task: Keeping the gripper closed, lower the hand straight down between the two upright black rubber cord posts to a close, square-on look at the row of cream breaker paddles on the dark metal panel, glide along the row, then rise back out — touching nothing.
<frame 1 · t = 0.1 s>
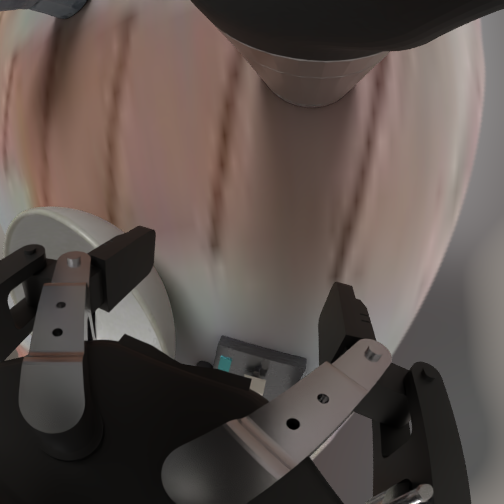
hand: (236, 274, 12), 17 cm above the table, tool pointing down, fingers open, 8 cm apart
panel: (251, 381, 39), on the table
decorative bowl: (121, 274, 36), on the table
paddles: (246, 402, 36), point 4 cm above the table, hinge at 0.0°
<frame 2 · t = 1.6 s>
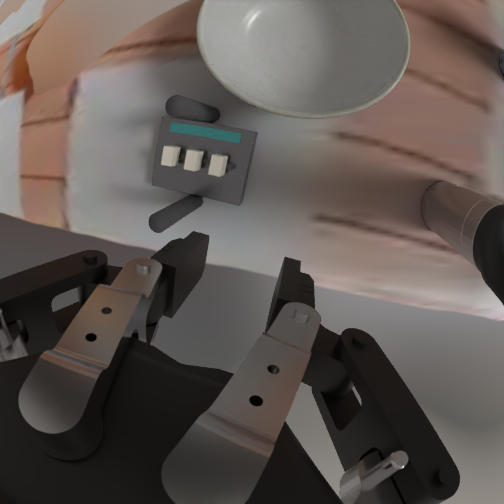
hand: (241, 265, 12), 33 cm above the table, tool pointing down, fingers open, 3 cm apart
panel: (203, 158, 44), on the table
decorative bowl: (304, 49, 34), on the table
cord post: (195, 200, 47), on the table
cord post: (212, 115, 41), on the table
paddles: (193, 159, 40), point 4 cm above the table, hinge at 0.0°
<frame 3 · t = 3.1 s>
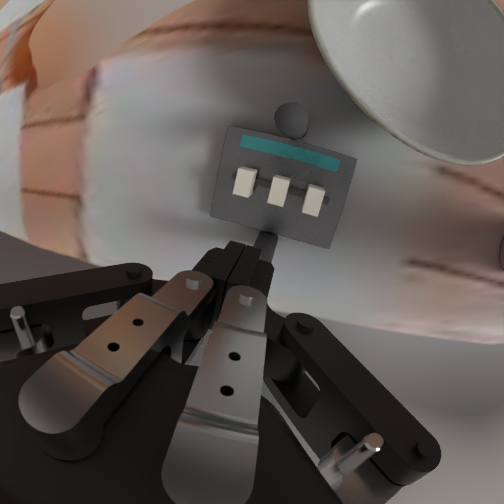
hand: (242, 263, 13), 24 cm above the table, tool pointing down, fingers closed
panel: (282, 184, 35), on the table
decorative bowl: (405, 61, 25), on the table
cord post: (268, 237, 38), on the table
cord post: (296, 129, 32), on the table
paddles: (279, 190, 31), point 4 cm above the table, hinge at 0.0°
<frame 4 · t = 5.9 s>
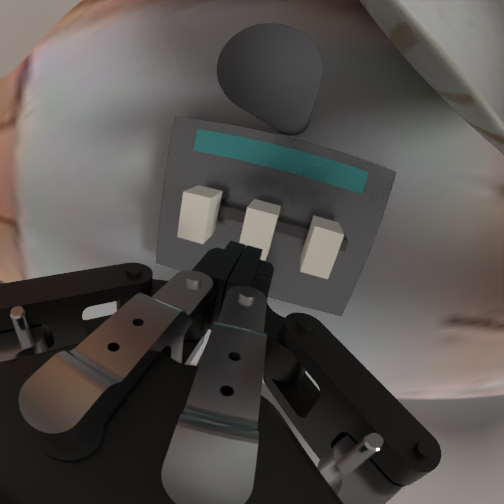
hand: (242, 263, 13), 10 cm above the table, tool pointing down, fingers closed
panel: (267, 212, 21), on the table
decorative bowl: (455, 26, 12), on the table
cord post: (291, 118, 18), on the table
paddles: (259, 229, 17), point 4 cm above the table, hinge at 0.0°
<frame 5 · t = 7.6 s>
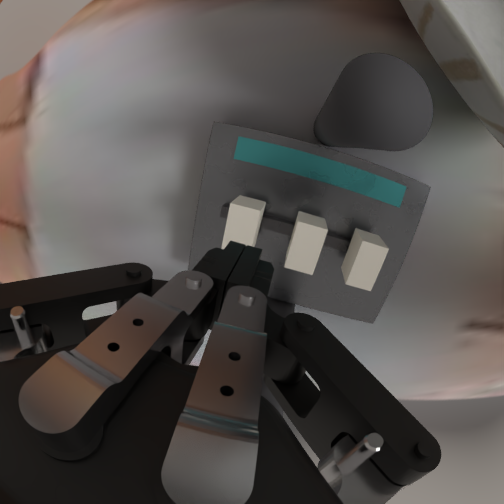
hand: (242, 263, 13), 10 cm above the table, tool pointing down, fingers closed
panel: (305, 223, 21), on the table
decorative bowl: (481, 43, 11), on the table
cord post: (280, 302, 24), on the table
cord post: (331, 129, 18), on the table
paddles: (305, 241, 17), point 4 cm above the table, hinge at 0.0°
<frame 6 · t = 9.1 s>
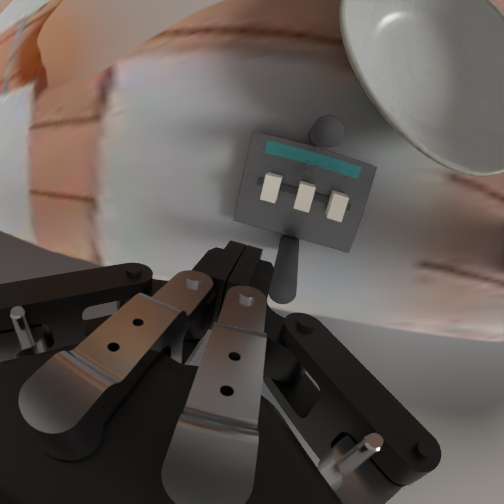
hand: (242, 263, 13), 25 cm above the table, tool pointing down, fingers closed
panel: (304, 190, 36), on the table
decorative bowl: (421, 73, 26), on the table
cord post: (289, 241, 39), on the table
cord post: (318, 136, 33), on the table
paddles: (304, 196, 32), point 4 cm above the table, hinge at 0.0°
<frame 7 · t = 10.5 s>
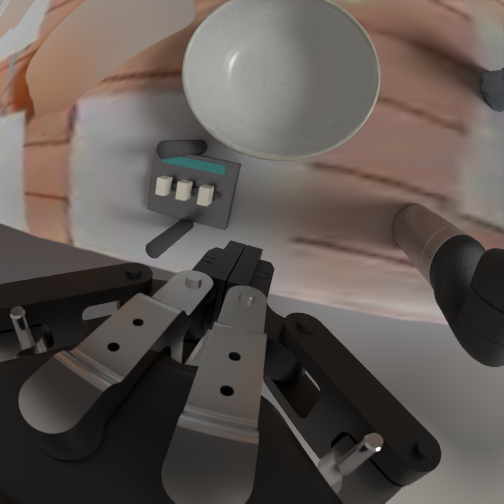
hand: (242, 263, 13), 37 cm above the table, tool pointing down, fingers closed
panel: (193, 186, 50), on the table
decorative bowl: (284, 82, 40), on the table
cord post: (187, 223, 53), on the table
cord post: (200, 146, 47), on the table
moka pot: (494, 92, 31), on the table
paddles: (184, 190, 46), point 4 cm above the table, hinge at 0.0°
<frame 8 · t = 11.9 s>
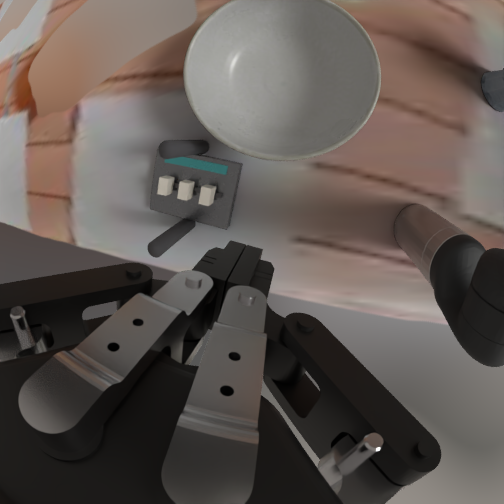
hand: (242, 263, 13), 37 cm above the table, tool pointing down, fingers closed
panel: (194, 186, 50), on the table
decorative bowl: (285, 83, 40), on the table
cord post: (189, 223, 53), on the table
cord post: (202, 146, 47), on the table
moka pot: (496, 92, 30), on the table
paddles: (186, 189, 46), point 4 cm above the table, hinge at 0.0°
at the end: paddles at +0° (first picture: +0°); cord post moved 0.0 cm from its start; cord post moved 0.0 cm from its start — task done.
